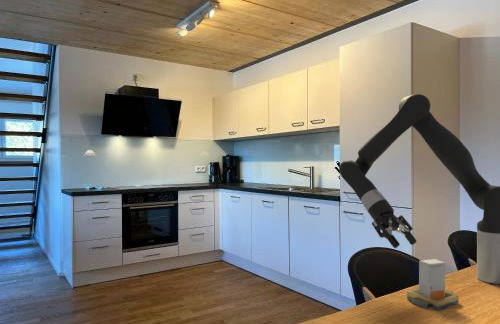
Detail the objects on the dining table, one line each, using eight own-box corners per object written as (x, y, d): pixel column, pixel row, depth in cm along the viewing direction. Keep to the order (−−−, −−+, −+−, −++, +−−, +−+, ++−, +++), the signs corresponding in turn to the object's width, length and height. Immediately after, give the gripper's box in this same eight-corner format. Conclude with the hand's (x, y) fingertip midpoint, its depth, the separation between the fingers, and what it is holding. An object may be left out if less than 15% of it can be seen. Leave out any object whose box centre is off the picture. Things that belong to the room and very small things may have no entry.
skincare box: (429, 304, 106) (428, 264, 106) (418, 299, 110) (418, 260, 110) (445, 302, 108) (445, 262, 108) (434, 297, 112) (434, 258, 112)
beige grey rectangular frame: (429, 292, 116) (429, 284, 116) (461, 302, 108) (461, 294, 108) (404, 300, 110) (403, 292, 110) (435, 312, 101) (435, 303, 101)
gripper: (368, 199, 120) (399, 241, 110) (396, 197, 127) (427, 235, 118) (356, 213, 125) (384, 254, 115) (384, 210, 132) (412, 248, 122)
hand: (406, 245), depth 116 cm, fingers open, 8 cm apart
